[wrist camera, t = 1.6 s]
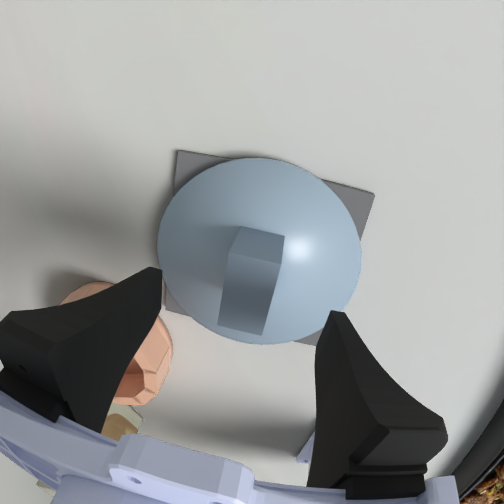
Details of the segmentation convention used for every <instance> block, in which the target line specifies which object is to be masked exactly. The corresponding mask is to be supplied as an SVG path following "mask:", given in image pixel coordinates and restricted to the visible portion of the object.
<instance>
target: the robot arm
mask: <svg viewBox="0 0 504 504" xmlns="http://www.w3.org/2000/svg"><path fill="white" fill-rule="evenodd" d="M162 271H163V270H160V269H156V268H153V267H148V268H146V269H144V270H142V271H140V272H138V273H136V274H134V275H132V276H131V277H129V278H127V279H125V280H123V281H121V282H119V283H117V284H115V285H113V286H111V287H109V288H107V289H104V290H102V291H100V292H98V293H96V294H93V295H91V296H88V297H85V298H82V299H79V300H76V301H73V302H69V303H65V304H62V305H58V306H53V307H48V308H42V309H35V310H23V311H11V312H10V313H9V314H8V315H7V316H6V317H5V318H4V319H3V320H2V321H1V322H0V360H1V362H2V364H3V366H4V368H3V369H2V370H1V372H0V452H2V453H3V454H4V455H5V456H6V457H8V458H9V459H10V460H12V461H13V462H14V463H16V464H17V465H18V466H20V467H21V468H23V469H24V470H25V471H27V472H28V473H30V474H31V475H32V476H34V477H35V478H37V479H38V480H40V481H41V482H43V483H44V484H46V485H48V486H49V487H51V488H52V489H54V490H56V493H55V495H54V497H53V499H52V501H51V503H50V504H460V503H459V497H458V492H457V486H456V481H455V476H453V475H451V476H443V477H435V478H430V479H427V480H425V481H424V475H423V474H425V473H426V472H427V465H426V463H427V462H428V461H430V460H431V459H432V458H433V457H434V456H435V455H437V454H438V453H439V452H440V451H441V450H442V449H443V448H444V447H445V445H446V443H447V441H448V434H447V431H446V427H445V424H444V420H443V418H442V417H441V416H439V415H437V414H436V413H434V412H433V411H431V410H430V409H428V408H426V407H425V406H424V405H422V404H421V403H420V402H418V401H417V400H416V399H414V398H413V397H412V396H411V395H409V394H408V393H407V392H406V391H405V390H404V389H403V388H402V387H400V386H399V385H398V384H397V383H396V382H395V381H394V380H393V379H392V378H391V377H390V376H389V374H388V373H387V372H386V371H385V370H384V369H383V368H382V367H381V365H380V364H379V363H378V362H377V360H376V359H375V358H374V356H373V355H372V354H371V352H370V351H369V350H368V348H367V347H366V345H365V344H364V342H363V341H362V339H361V338H360V336H359V335H358V333H357V331H356V330H355V328H354V327H353V325H352V323H351V322H350V320H349V319H348V317H347V315H346V314H345V312H340V311H335V310H331V311H330V313H329V316H328V318H327V321H326V323H325V325H324V328H323V330H322V333H321V335H320V337H319V340H318V342H317V344H316V353H315V386H316V426H315V431H314V433H313V434H312V436H311V437H310V438H309V440H308V441H307V443H306V444H305V446H304V447H303V449H302V450H301V451H300V453H299V454H298V456H297V457H296V461H297V462H300V463H308V464H309V471H308V481H307V486H306V487H302V486H292V485H284V484H276V483H269V482H263V481H257V480H254V479H255V478H254V473H253V471H252V470H250V469H249V468H247V467H246V466H244V465H243V464H241V463H239V462H236V461H233V460H230V459H227V458H223V457H218V456H214V455H210V454H206V453H202V452H198V451H195V450H191V449H187V448H184V447H180V446H177V445H174V444H171V443H167V442H164V441H161V440H158V439H155V438H152V437H149V436H145V435H140V434H136V433H133V434H125V435H122V436H121V438H120V440H119V442H118V441H116V440H113V439H111V438H108V437H106V436H104V435H101V432H102V429H103V426H104V423H105V420H106V417H107V414H108V412H109V409H110V406H111V403H112V401H113V399H114V396H115V394H116V391H117V389H118V387H119V384H120V382H121V380H122V378H123V376H124V373H125V371H126V369H127V367H128V366H129V364H130V362H131V360H132V359H133V357H134V356H135V354H136V352H137V351H138V349H139V348H140V346H141V345H142V343H143V341H144V340H145V338H146V337H147V335H148V334H149V332H150V330H151V329H152V327H153V325H154V323H155V321H156V319H157V317H158V314H159V312H160V310H161V299H162Z"/></svg>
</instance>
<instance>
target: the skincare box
mask: <svg viewBox="0 0 504 504" xmlns="http://www.w3.org/2000/svg"><path fill="white" fill-rule="evenodd" d="M142 421H143V418H142V417H141V416H139V415H138V414H137V413H136V412H135V411H134V410H133V409H132V408H131V407H129V406H128V405H119V404H117V403H114V402H112V403H111V406H110V409H109V412H108V414H107V417H106V420H105V423H104V426H103V429H102V432H101V435H104V436H106V437H108V438H111V439H113V440H116V441H118V442H119V440H120V438H121V436H122V435H125V434H133V433H136V434H137V432H138V430H139V428H140V425H141V423H142ZM36 485H37V486H38V487H39V488H41V489H42V490H43V491H45V492H46V493H48V494H49V495H51V496H52V497H54V495H55V493H56V490H54V489H52V488H51V487H49V486H48V485H46V484H44V483H43V482H41V481H40V480H38V482H37V484H36Z"/></svg>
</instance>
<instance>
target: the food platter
mask: <svg viewBox="0 0 504 504" xmlns="http://www.w3.org/2000/svg"><path fill="white" fill-rule="evenodd" d="M451 475H453V476H455V481H456V486H457V492H458V497H459V503H460V504H504V400H503V402H502V403H501V405H500V407H499V408H498V410H497V412H496V413H495V415H494V417H493V418H492V420H491V421H490V423H489V424H488V426H487V427H486V429H485V430H484V432H483V433H482V435H481V436H480V438H479V439H478V440H477V442H476V443H475V445H474V446H473V447H472V449H471V450H470V452H469V453H468V454H467V455H466V457H465V458H464V459H463V461H462V462H461V463H460V465H459V466H458V467H457V468H456V470H455V471H454V472H453V473H452V474H451Z"/></svg>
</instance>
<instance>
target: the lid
mask: <svg viewBox="0 0 504 504" xmlns="http://www.w3.org/2000/svg"><path fill="white" fill-rule="evenodd" d="M157 255H158V261H159V266H160V270H163V271H162V277H163V279H164V281H165V283H166V286H167V288H168V289H169V291H170V293H171V294H172V296H173V298H174V299H175V300H176V302H177V303H178V304H179V305H180V307H181V308H182V309H183V310H184V311H185V312H186V313H187V314H188V315H189V316H190V317H192V318H193V319H194V320H195V321H196V322H198V323H199V324H201V325H202V326H204V327H205V328H207V329H209V330H211V331H213V332H214V333H216V334H219V335H221V336H223V337H226V338H229V339H232V340H236V341H239V342H244V343H250V344H261V345H263V344H280V343H286V342H291V341H295V340H298V339H301V338H304V337H306V336H309V335H311V334H313V333H315V332H317V331H318V330H320V329H321V328H323V327H324V325H325V323H326V321H327V318H328V316H329V313H330V311H331V310H335V311H340V312H341V311H342V310H343V309H344V307H345V306H346V304H347V303H348V301H349V300H350V298H351V296H352V294H353V292H354V290H355V288H356V285H357V282H358V279H359V274H360V268H361V247H360V240H359V236H358V233H357V230H356V226H355V224H354V222H353V220H352V218H351V215H350V213H349V211H348V209H347V208H346V206H345V205H344V203H343V202H342V200H341V199H340V198H339V197H338V195H337V194H336V193H335V192H334V191H333V190H332V189H331V188H330V187H329V186H328V185H327V184H325V183H324V182H323V181H322V180H321V179H320V178H318V177H316V176H315V175H313V174H312V173H310V172H308V171H307V170H304V169H302V168H300V167H298V166H296V165H293V164H290V163H287V162H283V161H280V160H274V159H268V158H242V159H234V160H231V161H227V162H223V163H220V164H218V165H215V166H213V167H211V168H208V169H206V170H205V171H203V172H202V173H200V174H198V175H197V176H195V177H194V178H192V179H191V180H190V181H189V182H188V183H187V184H185V185H184V186H183V187H182V188H181V189H180V190H179V191H178V193H177V194H176V195H175V196H174V197H173V199H172V200H171V202H170V203H169V205H168V207H167V208H166V211H165V213H164V215H163V217H162V220H161V224H160V227H159V231H158V239H157Z"/></svg>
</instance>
